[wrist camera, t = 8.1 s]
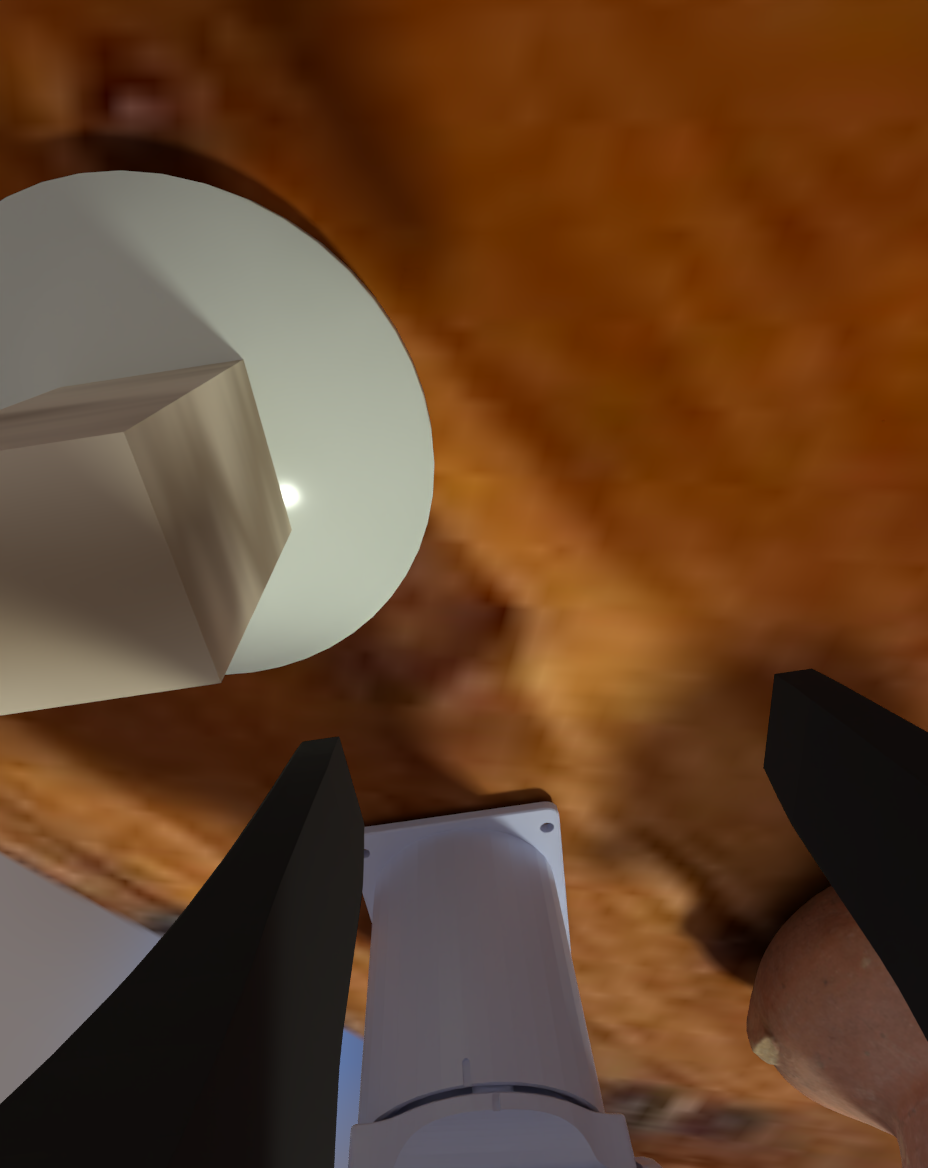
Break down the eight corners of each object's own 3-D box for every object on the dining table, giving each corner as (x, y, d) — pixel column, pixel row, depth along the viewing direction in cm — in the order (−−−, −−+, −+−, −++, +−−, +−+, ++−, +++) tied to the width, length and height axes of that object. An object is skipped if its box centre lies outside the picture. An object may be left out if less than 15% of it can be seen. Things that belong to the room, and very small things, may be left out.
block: (292, 529, 17) (220, 682, 11) (130, 554, 18) (-29, 719, 11) (243, 359, 15) (123, 431, 9) (60, 387, 15) (-183, 478, 9)
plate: (462, 624, 20) (464, 641, 19) (61, 683, 20) (44, 702, 20) (386, 135, 14) (383, 128, 13) (-183, 220, 14) (-222, 218, 14)
